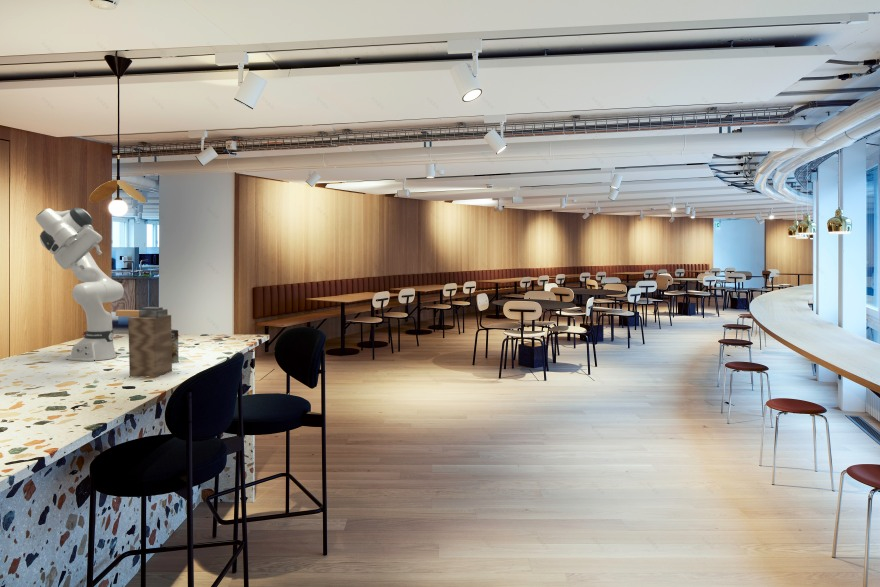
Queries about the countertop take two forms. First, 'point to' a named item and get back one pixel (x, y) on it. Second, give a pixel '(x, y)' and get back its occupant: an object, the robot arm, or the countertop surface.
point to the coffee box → (174, 346)
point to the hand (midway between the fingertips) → (92, 261)
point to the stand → (150, 343)
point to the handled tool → (136, 311)
